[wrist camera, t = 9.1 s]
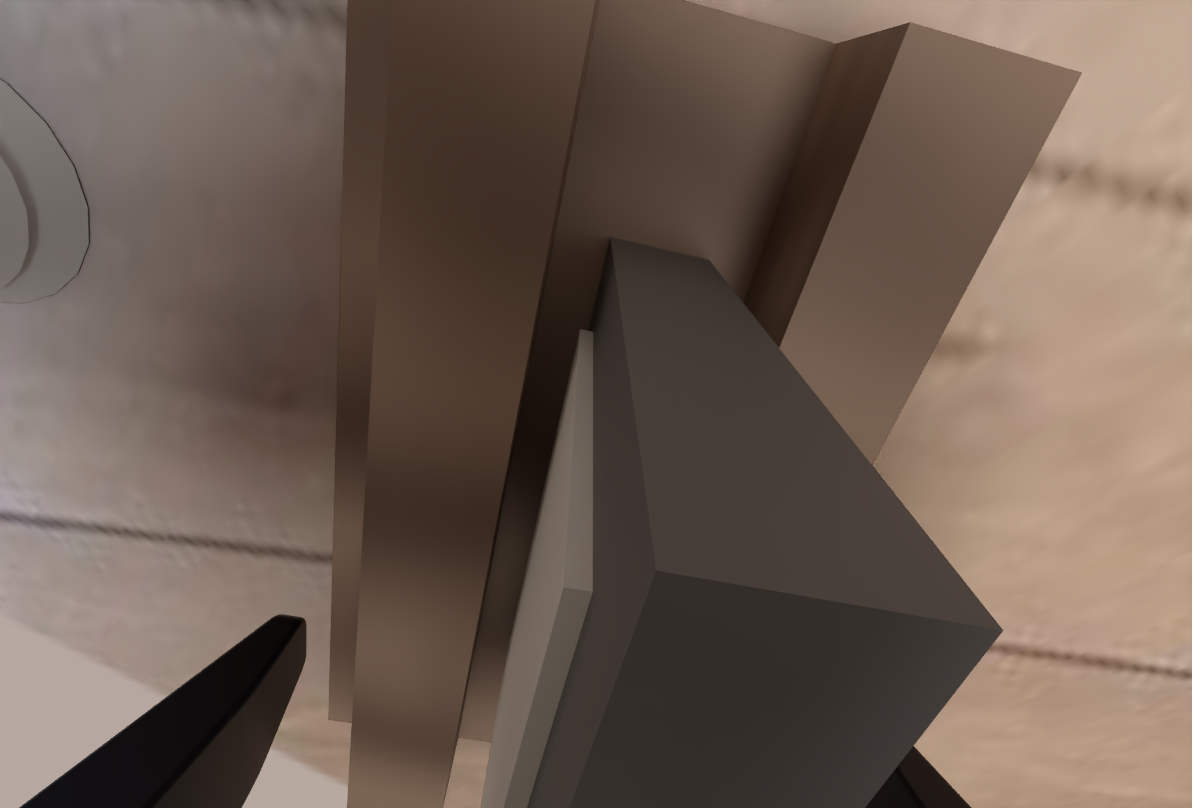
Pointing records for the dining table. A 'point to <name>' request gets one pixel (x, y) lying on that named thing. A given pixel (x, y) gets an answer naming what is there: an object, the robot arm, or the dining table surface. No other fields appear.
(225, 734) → the robot arm
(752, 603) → the picture frame
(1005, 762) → the dining table surface
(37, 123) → the chalice
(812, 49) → the walnut ledge
